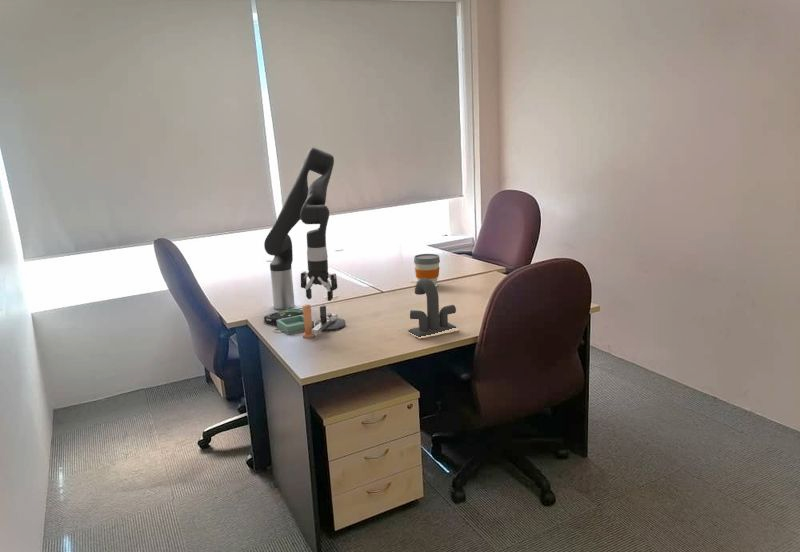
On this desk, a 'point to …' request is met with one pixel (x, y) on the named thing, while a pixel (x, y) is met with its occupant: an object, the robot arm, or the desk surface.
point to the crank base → (333, 325)
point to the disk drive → (282, 315)
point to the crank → (324, 320)
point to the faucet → (431, 311)
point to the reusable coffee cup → (427, 267)
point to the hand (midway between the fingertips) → (319, 299)
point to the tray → (292, 324)
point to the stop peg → (307, 321)
